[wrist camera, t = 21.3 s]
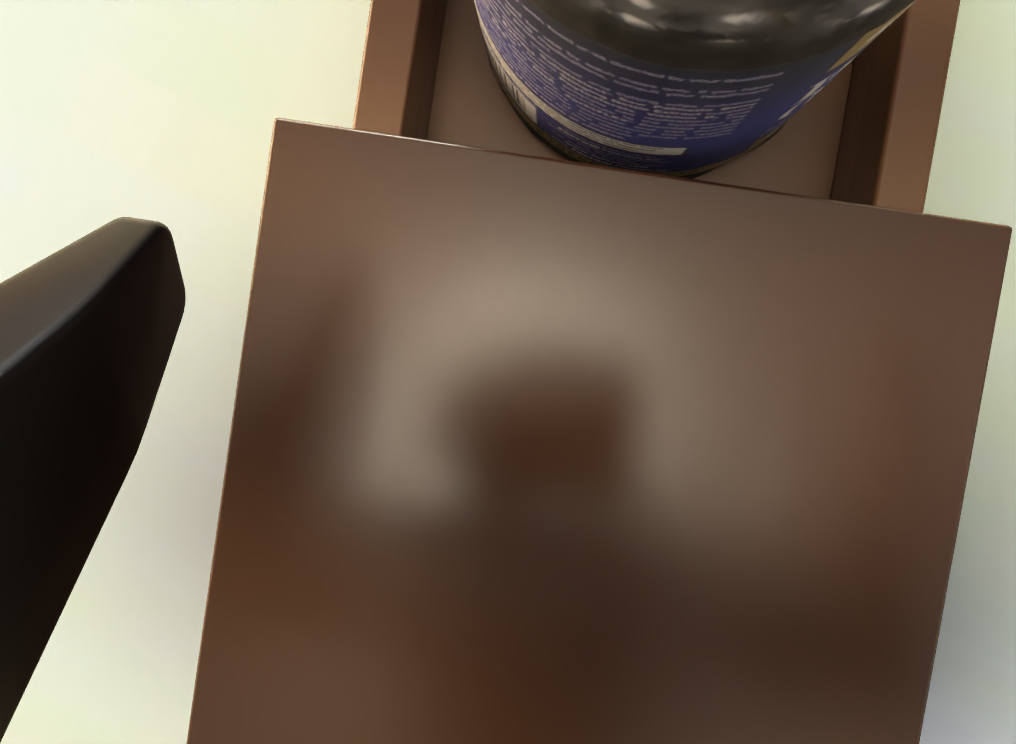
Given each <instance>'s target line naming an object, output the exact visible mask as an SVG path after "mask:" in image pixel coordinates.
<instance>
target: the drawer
mask: <svg viewBox="0 0 1016 744" xmlns="http://www.w3.org/2000/svg"><path fill="white" fill-rule="evenodd" d="M959 5H960V0H916V1H915V2H914V3H913V4H912V5H911V6H909V7H908V8H907V9H906V10H905V11H904V13H903V14H901V15H900V16H899V17H898V18H897V19H895V20H894V21H893V23H892V24H891V25H889V26H888V27H887V28H886V29H884V30H883V31H882V32H881V33H880V34H879V35H878V36H877V37H876V38H875V39H874V40H873V41H872V42H871V43H870V44H869V45H868V46H867V47H866V48H865V49H864V50H863V51H862V52H861V53H860V54H859V55H857V56H856V57H855V58H854V59H853V60H852V61H851V62H850V63H849V64H848V65H847V66H846V67H845V68H844V69H843V70H842V71H841V72H840V73H839V74H837V75H836V76H835V77H834V78H833V79H832V80H831V81H830V82H829V83H828V84H827V85H826V86H824V87H823V88H822V90H821V91H820V92H819V93H818V94H816V95H815V96H814V97H813V98H812V99H810V100H809V101H808V102H807V103H806V104H805V105H804V106H803V107H802V108H801V109H800V110H799V111H798V112H797V113H796V114H794V115H793V116H792V117H791V118H790V119H789V120H788V121H787V122H786V123H785V125H784V126H783V127H782V129H781V130H780V131H779V132H778V133H777V134H775V135H774V136H773V137H772V138H771V139H769V140H768V141H766V142H765V143H763V144H762V145H760V146H759V147H757V148H755V149H753V150H751V151H749V152H747V153H745V154H743V155H741V156H739V157H737V158H736V159H734V160H732V161H730V162H727V163H725V164H724V165H722V166H720V167H718V168H716V169H714V170H712V171H710V172H708V173H706V174H704V175H701V176H698V177H695V178H692V179H696V180H702V181H709V182H716V183H723V184H729V185H736V186H743V187H750V188H756V189H763V190H770V191H777V192H783V193H790V194H797V195H804V196H810V197H817V198H824V199H831V200H838V201H844V202H851V203H858V204H865V205H871V206H878V207H885V208H892V209H898V210H905V211H912V212H919V213H923V209H924V204H925V198H926V192H927V187H928V181H929V175H930V170H931V164H932V158H933V153H934V147H935V141H936V136H937V130H938V124H939V118H940V113H941V107H942V101H943V96H944V90H945V84H946V79H947V73H948V67H949V62H950V56H951V50H952V45H953V39H954V33H955V28H956V22H957V16H958V11H959ZM353 129H358V130H365V131H371V132H378V133H385V134H392V135H398V136H405V137H412V138H419V139H425V140H432V141H439V142H446V143H452V144H459V145H466V146H473V147H479V148H486V149H493V150H500V151H506V152H513V153H520V154H527V155H533V156H540V157H547V158H554V159H560V160H567V161H569V160H568V159H566V158H564V157H563V156H561V155H560V154H558V153H556V152H555V151H554V150H552V149H551V148H550V147H549V146H547V145H546V144H545V143H543V142H542V141H541V140H539V139H538V138H537V137H536V136H534V135H533V134H532V133H531V132H530V130H529V129H528V128H527V127H526V125H525V124H524V123H523V121H522V120H521V119H520V117H519V116H518V115H517V113H516V112H515V110H514V108H513V107H512V105H511V104H510V102H509V100H508V99H507V97H506V96H505V94H504V92H503V91H502V89H501V87H500V85H499V83H498V81H497V79H496V77H495V75H494V73H493V71H492V69H491V67H490V63H489V58H488V54H487V51H486V48H485V44H484V39H483V34H482V30H481V26H480V22H479V18H478V14H477V10H476V6H475V2H474V0H371V5H370V12H369V19H368V26H367V33H366V40H365V47H364V54H363V61H362V68H361V74H360V81H359V88H358V95H357V102H356V109H355V116H354V123H353Z"/></svg>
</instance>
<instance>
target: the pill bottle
mask: <svg viewBox="0 0 1016 744" xmlns="http://www.w3.org/2000/svg"><path fill="white" fill-rule="evenodd" d="M915 1H916V0H474V2H475V6H476V10H477V14H478V18H479V22H480V26H481V30H482V34H483V39H484V44H485V48H486V51H487V54H488V58H489V63H490V67H491V69H492V71H493V73H494V75H495V77H496V79H497V81H498V83H499V85H500V87H501V89H502V91H503V92H504V94H505V96H506V97H507V99H508V100H509V102H510V104H511V105H512V107H513V108H514V110H515V112H516V113H517V115H518V116H519V117H520V119H521V120H522V121H523V123H524V124H525V125H526V127H527V128H528V129H529V130H530V132H531V133H532V134H533V135H534V136H536V137H537V138H538V139H539V140H541V141H542V142H543V143H545V144H546V145H547V146H549V147H550V148H551V149H552V150H554V151H555V152H556V153H558V154H560V155H561V156H563V157H564V158H566V159H568V160H569V161H574V162H581V163H588V164H594V165H601V166H608V167H615V168H621V169H628V170H635V171H642V172H648V173H655V174H662V175H669V176H675V177H682V178H689V179H692V178H695V177H698V176H701V175H704V174H706V173H708V172H710V171H712V170H714V169H716V168H718V167H720V166H722V165H724V164H725V163H727V162H730V161H732V160H734V159H736V158H737V157H739V156H741V155H743V154H745V153H747V152H749V151H751V150H753V149H755V148H757V147H759V146H760V145H762V144H763V143H765V142H766V141H768V140H769V139H771V138H772V137H773V136H774V135H775V134H777V133H778V132H779V131H780V130H781V129H782V127H783V126H784V125H785V123H786V122H787V121H788V120H789V119H790V118H791V117H792V116H793V115H794V114H796V113H797V112H798V111H799V110H800V109H801V108H802V107H803V106H804V105H805V104H806V103H807V102H808V101H809V100H810V99H812V98H813V97H814V96H815V95H816V94H818V93H819V92H820V91H821V90H822V88H823V87H824V86H826V85H827V84H828V83H829V82H830V81H831V80H832V79H833V78H834V77H835V76H836V75H837V74H839V73H840V72H841V71H842V70H843V69H844V68H845V67H846V66H847V65H848V64H849V63H850V62H851V61H852V60H853V59H854V58H855V57H856V56H857V55H859V54H860V53H861V52H862V51H863V50H864V49H865V48H866V47H867V46H868V45H869V44H870V43H871V42H872V41H873V40H874V39H875V38H876V37H877V36H878V35H879V34H880V33H881V32H882V31H883V30H884V29H886V28H887V27H888V26H889V25H891V24H892V23H893V21H894V20H895V19H897V18H898V17H899V16H900V15H901V14H903V13H904V11H905V10H906V9H907V8H908V7H909V6H911V5H912V4H913V3H914V2H915Z"/></svg>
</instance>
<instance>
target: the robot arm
mask: <svg viewBox="0 0 1016 744" xmlns="http://www.w3.org/2000/svg"><path fill="white" fill-rule="evenodd" d="M184 307H185V288H184V283H183V279H182V275H181V271H180V266H179V262H178V258H177V254H176V250H175V246H174V242H173V238H172V235H171V232H170V230H169V229H168V227H167V226H165V225H164V224H162V223H160V222H156V221H150V220H143V219H136V218H130V217H121V218H118V219H115V220H113V221H111V222H109V223H107V224H106V225H104V226H102V227H100V228H99V229H97V230H95V231H93V232H91V233H90V234H88V235H86V236H84V237H82V238H81V239H79V240H77V241H75V242H73V243H72V244H70V245H68V246H66V247H65V248H63V249H61V250H59V251H57V252H56V253H54V254H52V255H50V256H48V257H47V258H45V259H43V260H41V261H39V262H38V263H36V264H34V265H32V266H31V267H29V268H27V269H25V270H23V271H22V272H20V273H18V274H16V275H14V276H13V277H11V278H9V279H7V280H5V281H4V282H2V283H0V742H1V740H2V738H3V736H4V734H5V732H6V729H7V727H8V725H9V723H10V721H11V719H12V717H13V715H14V712H15V710H16V708H17V706H18V704H19V702H20V700H21V698H22V696H23V693H24V691H25V689H26V687H27V685H28V683H29V681H30V679H31V677H32V674H33V672H34V670H35V668H36V666H37V664H38V662H39V660H40V657H41V655H42V653H43V651H44V649H45V647H46V645H47V643H48V641H49V638H50V636H51V634H52V632H53V630H54V628H55V626H56V624H57V621H58V619H59V617H60V615H61V613H62V611H63V609H64V607H65V605H66V602H67V600H68V598H69V596H70V594H71V592H72V590H73V588H74V585H75V583H76V581H77V579H78V577H79V575H80V573H81V571H82V569H83V566H84V564H85V562H86V560H87V558H88V556H89V554H90V552H91V549H92V547H93V545H94V543H95V541H96V539H97V537H98V535H99V533H100V530H101V528H102V526H103V524H104V522H105V520H106V518H107V516H108V513H109V511H110V509H111V507H112V505H113V503H114V501H115V499H116V497H117V494H118V492H119V490H120V488H121V486H122V484H123V482H124V480H125V477H126V475H127V473H128V471H129V469H130V466H131V464H132V462H133V460H134V457H135V455H136V453H137V450H138V448H139V445H140V442H141V440H142V437H143V434H144V431H145V428H146V425H147V422H148V419H149V416H150V413H151V410H152V407H153V404H154V401H155V398H156V395H157V392H158V389H159V386H160V383H161V380H162V377H163V374H164V371H165V368H166V365H167V362H168V359H169V356H170V353H171V350H172V347H173V344H174V341H175V338H176V334H177V331H178V328H179V325H180V322H181V319H182V316H183V313H184Z"/></svg>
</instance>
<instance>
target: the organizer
mask: <svg viewBox="0 0 1016 744" xmlns="http://www.w3.org/2000/svg"><path fill="white" fill-rule="evenodd" d="M1011 233H1012V228H1011V227H1010V226H1006V225H1000V224H993V223H986V222H979V221H973V220H966V219H959V218H952V217H946V216H939V215H932V214H925V213H919V212H912V211H905V210H898V209H892V208H885V207H878V206H871V205H865V204H858V203H851V202H844V201H838V200H831V199H824V198H817V197H810V196H804V195H797V194H790V193H783V192H777V191H770V190H763V189H756V188H750V187H743V186H736V185H729V184H723V183H716V182H709V181H702V180H696V179H689V178H682V177H675V176H669V175H662V174H655V173H648V172H642V171H635V170H628V169H621V168H615V167H608V166H601V165H594V164H588V163H581V162H574V161H567V160H560V159H554V158H547V157H540V156H533V155H527V154H520V153H513V152H506V151H500V150H493V149H486V148H479V147H473V146H466V145H459V144H452V143H446V142H439V141H432V140H425V139H419V138H412V137H405V136H398V135H392V134H385V133H378V132H371V131H365V130H358V129H351V128H344V127H338V126H331V125H324V124H317V123H310V122H304V121H297V120H290V119H283V118H276V119H275V121H274V126H273V133H272V140H271V147H270V155H269V162H268V169H267V176H266V183H265V190H264V197H263V204H262V211H261V219H260V226H259V233H258V240H257V247H256V254H255V261H254V268H253V275H252V282H251V290H250V297H249V304H248V311H247V318H246V325H245V332H244V339H243V346H242V354H241V361H240V368H239V375H238V382H237V389H236V396H235V403H234V410H233V418H232V425H231V432H230V439H229V446H228V453H227V460H226V467H225V474H224V482H223V489H222V496H221V503H220V510H219V517H218V524H217V531H216V538H215V546H214V553H213V560H212V567H211V574H210V581H209V588H208V595H207V602H206V610H205V617H204V624H203V631H202V638H201V645H200V652H199V659H198V666H197V674H196V681H195V688H194V695H193V702H192V709H191V716H190V723H189V730H188V737H187V744H919V741H920V735H921V730H922V724H923V719H924V713H925V708H926V702H927V697H928V691H929V686H930V680H931V675H932V669H933V664H934V658H935V653H936V647H937V642H938V636H939V631H940V625H941V619H942V614H943V608H944V603H945V597H946V592H947V586H948V581H949V575H950V570H951V564H952V559H953V553H954V548H955V542H956V537H957V531H958V526H959V520H960V515H961V509H962V504H963V498H964V492H965V487H966V481H967V476H968V470H969V465H970V459H971V454H972V448H973V443H974V437H975V432H976V426H977V421H978V415H979V410H980V404H981V399H982V393H983V388H984V382H985V377H986V371H987V365H988V360H989V354H990V349H991V343H992V338H993V332H994V327H995V321H996V316H997V310H998V305H999V299H1000V294H1001V288H1002V283H1003V277H1004V272H1005V266H1006V261H1007V255H1008V250H1009V244H1010V238H1011Z"/></svg>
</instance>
